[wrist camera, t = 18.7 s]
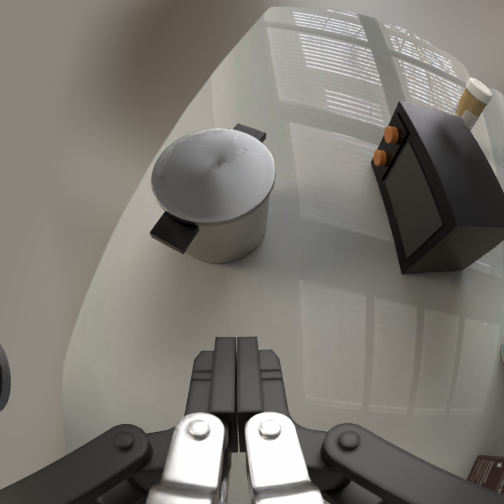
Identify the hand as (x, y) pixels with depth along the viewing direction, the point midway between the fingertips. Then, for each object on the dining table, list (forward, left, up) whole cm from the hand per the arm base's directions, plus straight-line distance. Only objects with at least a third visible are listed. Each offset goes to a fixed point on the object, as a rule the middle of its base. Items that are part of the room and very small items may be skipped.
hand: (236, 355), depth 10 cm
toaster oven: (+23, +17, -16) cm, 32 cm away
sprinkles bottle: (+37, +33, -16) cm, 52 cm away
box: (+29, -19, -16) cm, 38 cm away
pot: (-2, +15, -16) cm, 22 cm away
